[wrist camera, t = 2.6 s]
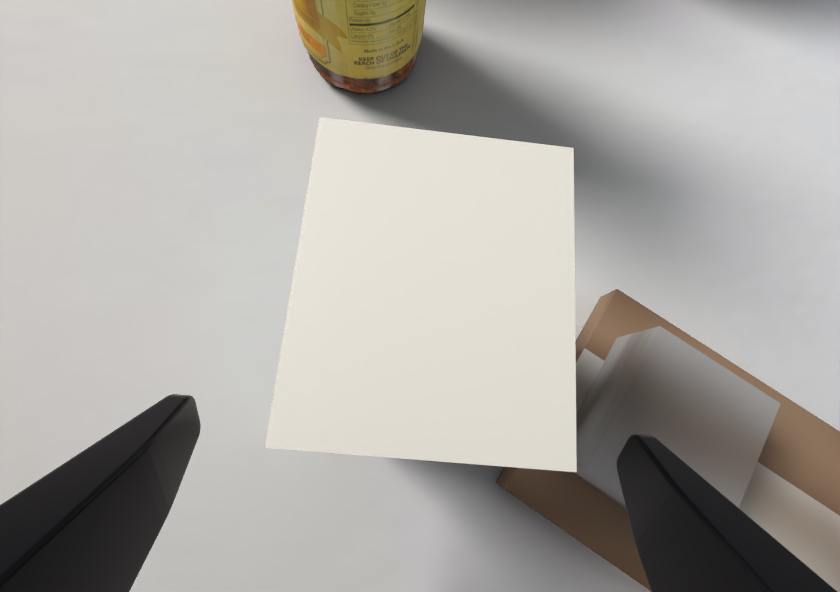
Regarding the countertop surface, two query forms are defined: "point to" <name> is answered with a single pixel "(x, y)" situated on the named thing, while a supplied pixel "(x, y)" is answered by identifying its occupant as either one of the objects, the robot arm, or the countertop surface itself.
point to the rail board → (611, 526)
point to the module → (432, 301)
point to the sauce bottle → (361, 40)
